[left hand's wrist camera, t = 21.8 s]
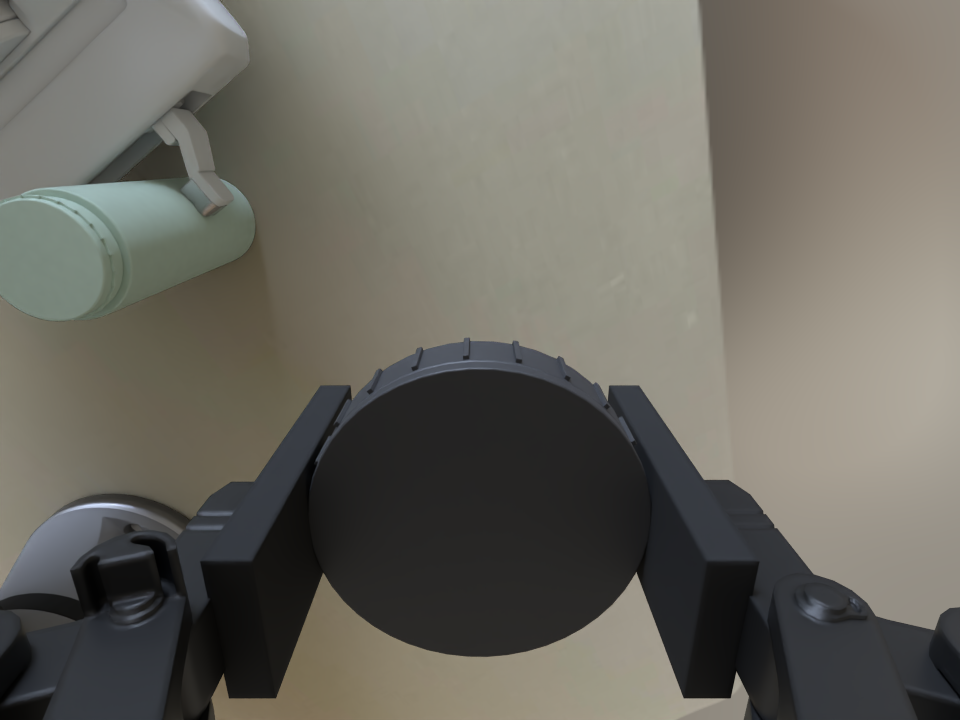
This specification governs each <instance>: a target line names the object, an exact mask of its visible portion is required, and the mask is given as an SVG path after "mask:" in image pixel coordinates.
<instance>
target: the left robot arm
mask: <svg viewBox="0 0 960 720" xmlns="http://www.w3.org/2000/svg"><path fill="white" fill-rule="evenodd" d="M348 399H349V400H351V401H352V398H351V387H350V386H320V387H319V389H318V390H317V392H316V393H315V395H314V396H313V398H312V399H311V401H310V402H309V403H308V405H307V406H306V408H305V409H304V411H303V412H302V414H301V415H300V416H299V418H298V419H297V421H296V422H295V424H294V425H293V427H292V428H291V430H290V431H289V432H288V434H287V435H286V437H285V438H284V440H283V441H282V443H281V444H280V446H279V447H278V448H277V450H276V451H275V453H274V454H273V456H272V457H271V459H270V460H269V462H268V463H267V464H266V466H265V467H264V469H263V470H262V472H261V473H260V475H259V476H258V478H257V479H256V480H255V482H230V483H229V484H227V485H226V486H224V487H223V488H221V489H220V490H218V491H217V492H215V493H214V494H212V495H211V496H210V497H209V498H208V499H207V501H206V502H205V503H204V504H203V506H202V507H201V508H200V509H199V511H198V512H197V516H194V517H193V518H192V520H191V521H190V520H188V519H187V518H186V517H184V516H183V515H181V514H180V513H178V512H176V511H174V510H173V509H171V508H169V507H166V506H164V505H162V504H160V503H157V502H154V501H151V500H148V499H145V498H141V497H136V496H130V495H122V494H103V495H94V496H89V497H85V498H82V499H79V500H76V501H74V502H71V503H69V504H68V505H66V506H64V507H63V508H61V509H60V510H58V511H57V512H56V513H55V514H53V515H52V516H51V517H50V518H49V519H47V520H46V521H45V522H44V523H43V524H42V525H40V526H39V527H38V528H37V529H36V530H35V531H34V533H33V534H32V535H31V536H30V538H29V540H28V541H27V543H26V544H25V546H24V548H23V550H22V552H21V554H20V555H19V557H18V559H17V560H16V562H15V564H14V566H13V567H12V569H11V571H10V573H9V574H8V576H7V578H6V580H5V582H4V583H3V585H2V587H1V589H0V720H215V715H214V708H213V704H212V699H211V697H212V695H213V693H214V691H215V689H216V687H217V685H218V683H219V681H220V679H221V677H222V675H223V673H224V677H225V682H226V686H227V691H228V696H229V698H276V697H277V694H278V691H279V689H280V686H281V683H282V681H283V678H284V675H285V673H286V670H287V667H288V665H289V662H290V659H291V657H292V654H293V651H294V649H295V646H296V643H297V641H298V638H299V635H300V633H301V630H302V627H303V625H304V622H305V619H306V617H307V614H308V611H309V609H310V606H311V603H312V601H313V598H314V595H315V593H316V590H317V587H318V585H319V582H320V579H321V577H322V574H323V571H322V569H321V567H320V564H319V562H318V560H317V557H316V555H315V553H314V549H313V545H312V539H311V531H310V523H309V515H308V496H309V491H310V486H311V481H312V477H313V474H314V471H315V469H316V465H314V464H315V461H316V459H317V457H318V455H319V453H320V451H321V449H322V448H323V446H324V444H325V442H326V440H327V438H328V436H332V434H333V432H334V430H335V428H336V427H335V426H334V423H335V421H336V419H337V417H338V416H339V414H340V412H341V410H342V408H343V406H344V405H345V403H346V401H347V400H348ZM608 403H609V404H610V405H611V407H612V408H613V410H614V411H615V413H616V415H617V417H618V418H619V417H623V419H624V421H625V423H626V424H627V426H628V428H629V430H630V432H631V434H632V436H633V437H634V439H635V441H636V443H637V444H636V445H634V446H633V447H634V449H635V451H636V453H637V455H638V457H639V459H640V461H641V463H642V466H643V468H644V471H645V474H646V477H647V480H648V485H649V491H650V497H651V520H650V528H649V536H648V543H647V546H646V549H645V552H644V556H643V558H642V561H641V563H640V565H639V567H638V569H637V571H636V572H637V575H638V577H639V580H640V583H641V585H642V588H643V591H644V593H645V596H646V599H647V601H648V604H649V607H650V609H651V612H652V615H653V617H654V620H655V623H656V625H657V628H658V631H659V633H660V636H661V639H662V641H663V644H664V647H665V649H666V652H667V655H668V657H669V660H670V663H671V665H672V668H673V671H674V673H675V676H676V679H677V681H678V684H679V687H680V689H681V692H682V695H683V697H684V698H731V694H732V689H733V685H734V680H735V675H736V671H737V673H738V675H739V677H740V679H741V681H742V683H743V685H744V687H745V689H746V691H747V693H748V695H749V699H748V704H747V708H746V712H745V717H744V720H960V607H959V608H949V609H948V610H947V611H945V612H944V613H942V614H941V615H940V617H939V620H938V623H937V626H936V628H935V630H930V629H926V628H922V627H917V626H913V625H908V624H904V623H900V622H895V621H891V620H887V619H883V618H880V617H876V616H875V614H874V613H873V611H872V610H871V608H870V607H869V605H868V604H867V603H866V602H865V601H864V600H863V599H862V598H860V597H859V596H858V595H857V594H856V593H854V592H853V591H852V590H850V589H848V588H846V587H844V586H843V585H841V584H839V583H837V582H835V581H833V580H830V579H826V578H823V577H820V576H817V575H814V574H813V573H812V572H811V571H810V569H809V568H808V567H807V566H806V564H805V563H804V562H803V560H802V559H801V558H800V557H799V556H798V554H797V553H796V552H795V550H794V549H793V548H792V547H791V545H790V544H789V543H788V542H787V540H786V539H785V538H784V537H783V535H782V534H781V533H780V532H779V530H778V529H777V528H774V524H773V523H772V521H771V520H770V519H769V518H768V516H767V515H766V514H763V510H762V509H761V508H760V506H759V505H758V504H757V503H756V501H755V500H754V499H753V498H752V496H751V495H750V494H749V493H747V492H746V491H744V490H743V489H741V488H740V487H738V486H737V485H735V484H734V483H732V482H731V481H729V480H703V478H702V477H701V475H700V474H699V472H698V471H697V469H696V468H695V466H694V465H693V464H692V462H691V461H690V459H689V458H688V456H687V455H686V453H685V452H684V450H683V449H682V448H681V446H680V445H679V443H678V442H677V440H676V439H675V437H674V436H673V434H672V433H671V432H670V430H669V429H668V427H667V426H666V424H665V423H664V421H663V420H662V418H661V417H660V416H659V414H658V413H657V411H656V410H655V408H654V407H653V405H652V404H651V402H650V401H649V400H648V398H647V397H646V395H645V394H644V392H643V391H642V389H641V388H640V386H609V394H608Z"/></svg>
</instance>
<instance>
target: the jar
mask: <svg viewBox="0 0 960 720" xmlns="http://www.w3.org/2000/svg"><path fill="white" fill-rule="evenodd" d="M190 180H191V179H190ZM190 180H189V177H182V178H169V179H156V180H142V181H129V182H115V183H102V184H88V185H75V186H61V187H48V188H39V189H33V190H30V191H27V192H25V193H23V194H21V195H19V196H15V197H11V198H7V199H3V200H2V201H0V295H1V296H2V297H3V298H4V299H5V300H6V301H7V302H8V303H10V304H11V305H12V306H14V307H15V308H17V309H18V310H20V311H22V312H23V313H26V314H28V315H30V316H32V317H35V318H38V319H43V320H47V321H57V322H58V321H70V320H91V319H97V318H100V317H103V316H105V315H108V314H110V313H112V312H115V311H117V310H119V309H122V308H124V307H126V306H129V305H131V304H133V303H136V302H138V301H140V300H143V299H145V298H147V297H150V296H152V295H154V294H157V293H159V292H161V291H164V290H166V289H168V288H171V287H173V286H175V285H178V284H180V283H182V282H185V281H187V280H189V279H192V278H194V277H196V276H199V275H201V274H203V273H206V272H208V271H210V270H213V269H215V268H217V267H220V266H222V265H224V264H227V263H229V262H231V261H234V260H236V259H238V258H239V257H241V256H242V255H243V254H244V253H246V251H247V250H248V249H249V248H250V246H251V244H252V242H253V239H254V235H255V218H254V214H253V211H252V208H251V206H250V204H249V202H248V200H247V199H246V198H245V196H244V195H243V194H242V193H241V192H240V191H239V190H238V189H237V188H236V187H235V186H233V185H232V184H230V183H229V182H227V181H225V180H223V179H220V180H221V181H222V182H223V183H224V184H225V186H226V187H227V188H228V189H229V191H230V192H231V193H232V194H233V196H234V200H233V201H232V202H231V203H230V204H229V205H227V206H226V207H225V208H223V209H222V210H221V211H220V212H218V213H217V214H216V215H214V216H213V215H211V216H209V217H205V216H203V215H201V214H200V213H199V212H198V211H197V209H196V208H195V207H194V202H192V201H189V200H188V199H187V198H186V197H185V196H184V195H183V193H182V192H181V191H180V189H181V188H182V187H183V186H184V185H185V184H186V183H187V182H188V181H190Z"/></svg>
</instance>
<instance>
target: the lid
mask: <svg viewBox="0 0 960 720" xmlns="http://www.w3.org/2000/svg"><path fill="white" fill-rule="evenodd" d="M334 426H335V427H336V428H335V430H334V432H333V434H332V436H328V438H327V440H326V442H325V444H324V446H323V448H322V449H321V451H320V453H319V455H318V457H317V459H316V461H315V464H314V465H316V469H315V471H314V474H313V477H312V481H311V486H310V491H309V496H308V515H309V523H310V531H311V539H312V545H313V549H314V553H315V555H316V557H317V560H318V562H319V564H320V567H321V569H322V571H323V573H324V574H325V576H326V578H327V579H328V581H329V582H330V584H331V586H332V587H333V588H334V590H335V591H336V592H337V593H338V594H339V596H340V597H341V598H342V599H343V601H344V602H345V603H346V604H347V605H349V606H350V607H351V608H352V609H353V610H354V611H355V612H356V613H357V614H358V615H359V616H361V617H362V618H363V619H365V620H366V621H367V622H369V623H370V624H371V625H373V626H374V627H376V628H378V629H379V630H381V631H383V632H385V633H386V634H388V635H390V636H392V637H394V638H396V639H399V640H401V641H403V642H405V643H408V644H410V645H413V646H417V647H420V648H423V649H426V650H430V651H434V652H439V653H444V654H450V655H458V656H470V657H490V656H501V655H510V654H515V653H520V652H526V651H530V650H533V649H536V648H540V647H543V646H546V645H549V644H551V643H554V642H556V641H559V640H561V639H563V638H566V637H567V636H569V635H571V634H573V633H575V632H576V631H578V630H580V629H582V628H583V627H585V626H586V625H588V624H589V623H590V622H592V621H593V620H595V619H596V618H598V617H599V616H600V615H601V614H602V613H603V612H604V611H605V610H607V609H608V608H609V607H610V606H611V605H612V604H613V603H614V602H615V601H616V599H617V598H618V597H619V596H620V595H621V594H622V593H623V591H624V590H625V589H626V587H627V586H628V584H629V583H630V581H631V580H632V578H633V577H634V575H635V573H636V571H637V569H638V567H639V565H640V563H641V561H642V558H643V556H644V552H645V549H646V546H647V543H648V536H649V528H650V520H651V497H650V491H649V485H648V480H647V477H646V474H645V471H644V468H643V466H642V463H641V461H640V459H639V457H638V455H637V453H636V451H635V449H634V447H633V446H634V445H636V444H637V443H636V441H635V439H634V437H633V436H632V434H631V432H630V430H629V428H628V426H627V424H626V423H625V421H624V419H623V417H619V418H618V417H617V415H616V413H615V411H614V410H613V408H612V407H611V405H610V404H609V403H608V401H607V399H606V397H605V396H604V394H603V392H602V390H601V388H600V386H599V385H598V384H597V383H595V384H592V383H591V382H590V381H588V380H587V379H586V378H584V377H583V376H582V375H581V374H579V373H578V372H577V371H575V370H574V369H573V368H571V367H569V366H568V365H566V364H565V362H564V359H563V358H562V357H560V356H558V358H557V359H555V358H553V357H551V356H548V355H546V354H543V353H541V352H539V351H536V350H533V349H529V348H525V347H522V346H519V342H518V341H513V343H512V344H506V343H499V342H484V341H470V338H464V342H460V343H451V344H446V345H442V346H438V347H434V348H429V349H426V350H424V351H423V348H422V347H420V348H417V350H416V353H415V354H413V355H411V356H408V357H406V358H404V359H402V360H401V361H399V362H397V363H395V364H393V365H391V366H390V367H388V368H387V369H385V370H384V371H382V370H381V369H378V370H377V371H376V373H375V375H374V377H373V379H372V380H371V381H370V382H369V383H368V384H367V385H366V386H365V387H364V388H363V389H362V390H361V391H360V392H359V393H358V394H357V395H356V397H355V398H354V399H353V400H352V401H351V400H349V399H348V400H347V401H346V403H345V405H344V406H343V408H342V410H341V412H340V414H339V416H338V417H337V419H336V421H335V423H334Z"/></svg>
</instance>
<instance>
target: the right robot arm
mask: <svg viewBox="0 0 960 720" xmlns="http://www.w3.org/2000/svg"><path fill="white" fill-rule="evenodd" d="M249 62H250V53H249V44H248V38H247V35H246V34H245V32H244V31H243V29H242V28H241V27H240V25H239V24H238V23H237V21H236V20H235V19H234V18H233V16H232V15H231V14H230V13H229V12H228V10H227V9H226V8H225V7H224V6H223V5H222V3H221V2H220V1H219V0H0V201H2V200H3V199H7V198H11V197H15V196H19V195H21V194H23V193H25V192H27V191H30V190H33V189H39V188H48V187H61V186H75V185H88V184H102V183H115V182H118V181H119V180H120V179H121V178H122V177H123V176H124V175H126V174H127V173H128V172H129V171H130V170H131V169H132V168H133V167H135V166H136V165H137V164H138V163H139V162H140V161H141V160H142V159H144V158H145V157H146V156H147V155H148V154H149V153H150V152H151V151H153V150H154V149H155V148H156V147H157V146H158V145H159V144H160V143H162V142H163V141H164V142H165V143H166V144H167V145H175V146H179V147H180V150H181V153H182V157H183V160H184V163H185V167H186V170H187V173H188V177H189V180H190V179H191V180H190V181H188V182H187V183H186V184H185V185H184V186H183V187H182V188H181V189H180V191H181V192H182V193H183V195H184V196H185V197H186V198H187V199H188V200H189V201H192V202H194V207H195V208H196V209H197V211H198V212H199V213H200V214H201V215H203V216H205V217H209V216H211V215H213V216H214V215H216V214H217V213H218V212H220V211H221V210H222V209H223V208H225V207H226V206H227V205H229V204H230V203H231V202H232V201H233V200H234V196H233V194H232V193H231V192H230V191H229V189H228V188H227V187H226V186H225V184H224V183H223V182H222V181H221V180H220V178H219V177H218V176H217V175H216V174H215V172H214V171H215V166H214V161H213V156H212V152H211V147H210V143H209V138H208V133H207V131H206V130H205V129H204V127H203V126H202V125H201V124H200V122H199V121H198V120H197V119H196V118H195V116H194V115H193V114H194V113H195V112H196V111H198V110H199V109H200V108H201V107H202V106H203V105H204V104H205V103H207V102H208V101H209V100H210V99H211V98H212V97H213V96H214V95H216V94H217V93H218V92H219V91H220V90H221V89H222V88H223V87H225V86H226V85H227V84H228V83H229V82H230V81H231V80H232V79H234V78H235V77H236V76H237V75H238V74H239V73H240V72H242V71H243V70H244V69H245V68H246V67H247V66H248V65H249Z"/></svg>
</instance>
